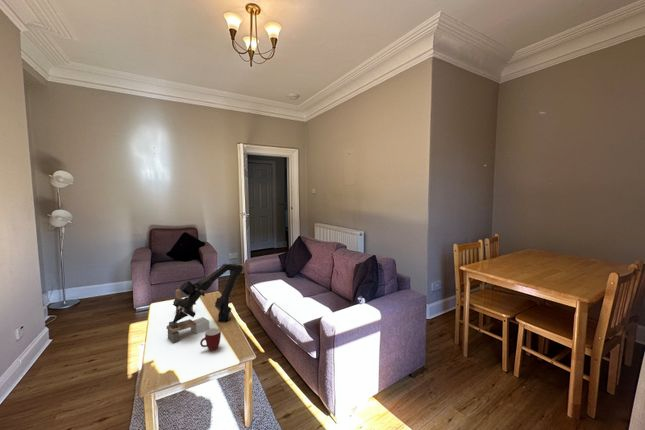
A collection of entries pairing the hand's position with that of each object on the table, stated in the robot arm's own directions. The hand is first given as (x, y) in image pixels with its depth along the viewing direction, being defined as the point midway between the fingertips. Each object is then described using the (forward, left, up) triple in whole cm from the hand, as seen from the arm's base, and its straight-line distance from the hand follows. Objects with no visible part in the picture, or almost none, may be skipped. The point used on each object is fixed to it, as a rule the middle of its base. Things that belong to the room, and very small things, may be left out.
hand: (173, 322), depth 158 cm
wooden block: (+12, -34, -11) cm, 37 cm away
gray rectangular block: (-5, -7, -11) cm, 14 cm away
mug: (-26, +9, -11) cm, 30 cm away
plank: (-3, -3, -5) cm, 6 cm away
